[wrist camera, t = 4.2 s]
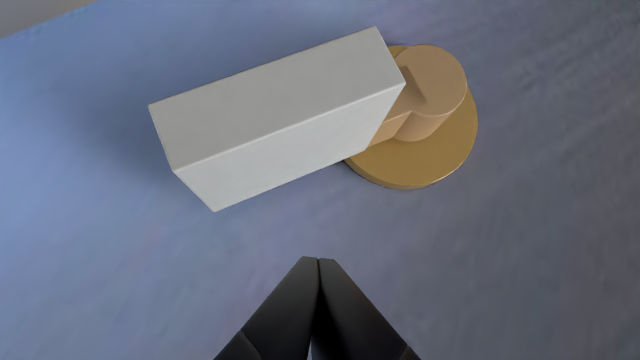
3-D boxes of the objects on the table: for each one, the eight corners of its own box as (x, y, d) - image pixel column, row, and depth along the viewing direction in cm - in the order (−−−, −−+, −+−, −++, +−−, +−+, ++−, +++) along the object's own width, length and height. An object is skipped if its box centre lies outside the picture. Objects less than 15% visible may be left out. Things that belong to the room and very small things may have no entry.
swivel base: (493, 104, 23) (503, 96, 22) (425, 219, 21) (432, 216, 20) (376, 31, 23) (380, 20, 22) (299, 135, 21) (299, 128, 20)
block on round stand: (420, 69, 21) (484, -30, 15) (452, 127, 21) (534, 51, 14) (191, 156, 19) (139, 87, 12) (218, 224, 18) (179, 191, 12)
